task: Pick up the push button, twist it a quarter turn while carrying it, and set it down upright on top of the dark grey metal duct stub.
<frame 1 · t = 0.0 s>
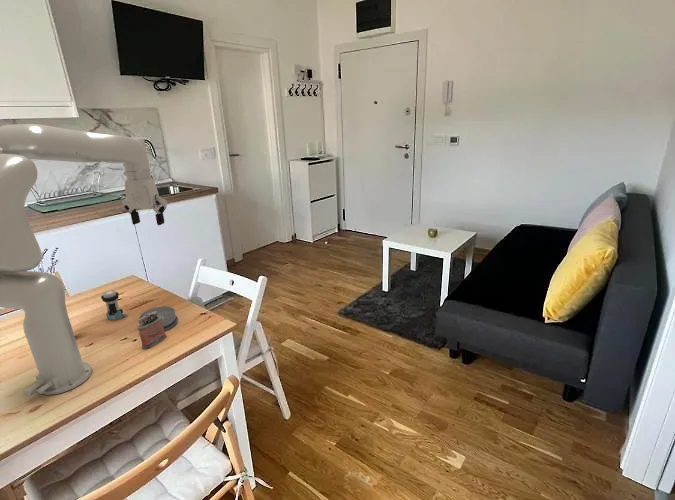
hand: (148, 223, 135), 31 cm above the table, tool pointing down, fingers open, 9 cm apart
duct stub: (159, 324, 131), on the table
lighter: (154, 342, 121), on the table
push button: (117, 318, 136), on the table
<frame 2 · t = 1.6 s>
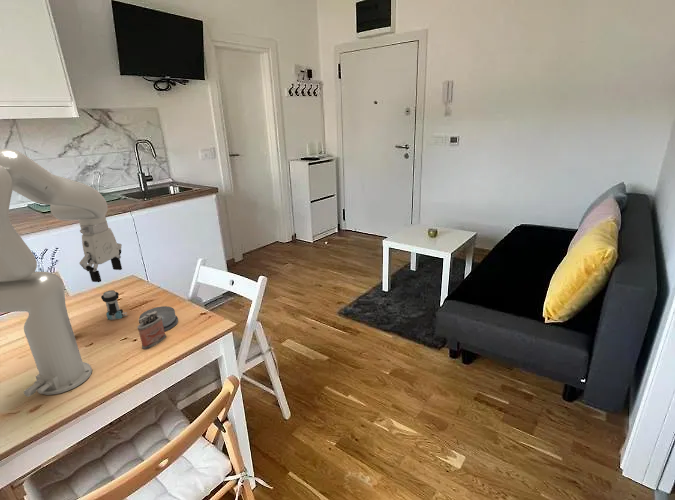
hand: (107, 275, 131), 16 cm above the table, tool pointing down, fingers open, 9 cm apart
nothing on the table moved.
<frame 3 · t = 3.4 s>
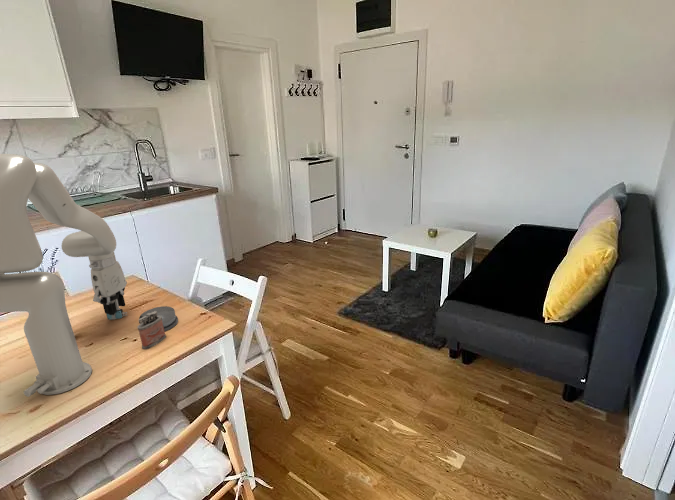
hand: (115, 309, 135), 3 cm above the table, tool pointing down, fingers closed on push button, 4 cm apart
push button: (117, 318, 136), on the table, touching gripper
everything else where it was.
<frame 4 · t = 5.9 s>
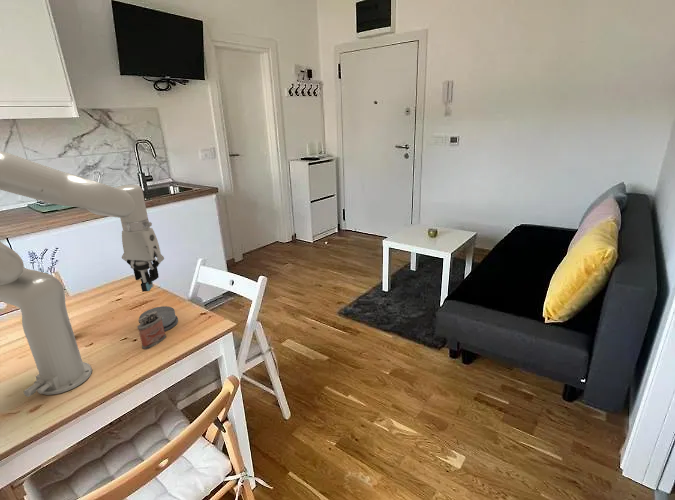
hand: (147, 278, 125), 17 cm above the table, tool pointing down, fingers closed on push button, 4 cm apart
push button: (149, 288, 126), point 14 cm above the table, touching gripper
everything else where it was.
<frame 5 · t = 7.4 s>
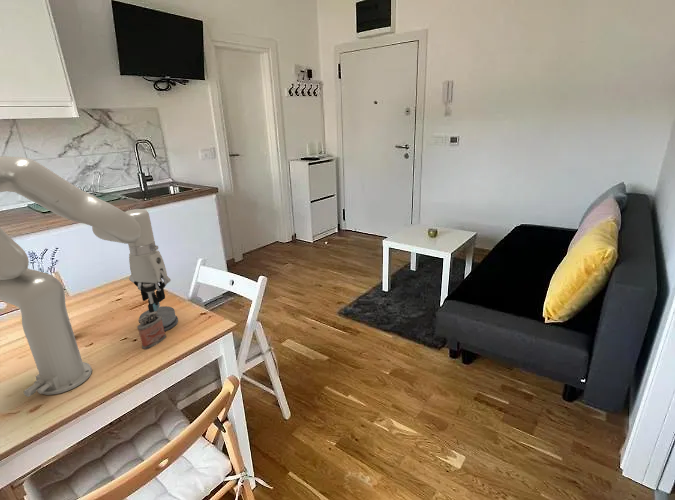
hand: (154, 299, 127), 10 cm above the table, tool pointing down, fingers closed on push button, 4 cm apart
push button: (156, 308, 129), point 6 cm above the table, touching gripper
everything else where it was.
when the fingers open (9 cm above the table, at t = 8.4 s): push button drops 1 cm, resting on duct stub.
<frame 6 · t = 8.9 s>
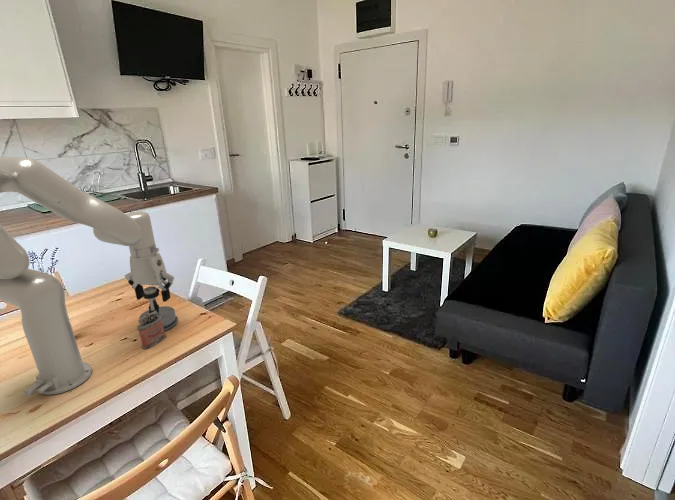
hand: (153, 298, 127), 10 cm above the table, tool pointing down, fingers open, 9 cm apart
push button: (156, 315, 129), point 4 cm above the table, touching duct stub
everything else where it was.
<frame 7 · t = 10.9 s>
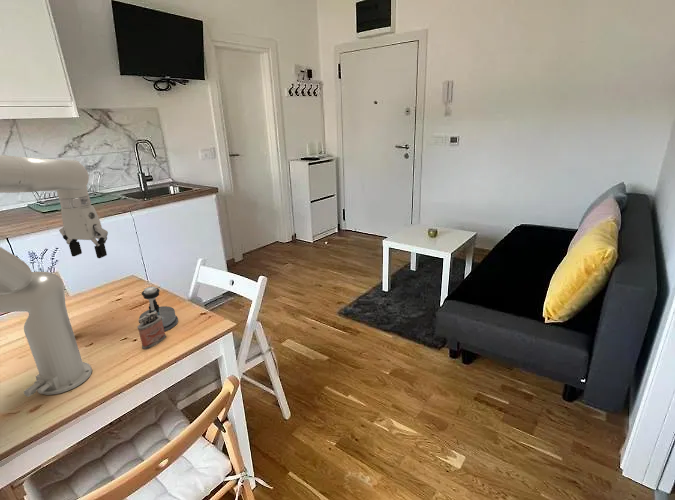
hand: (89, 255, 121), 26 cm above the table, tool pointing down, fingers open, 9 cm apart
nothing on the table moved.
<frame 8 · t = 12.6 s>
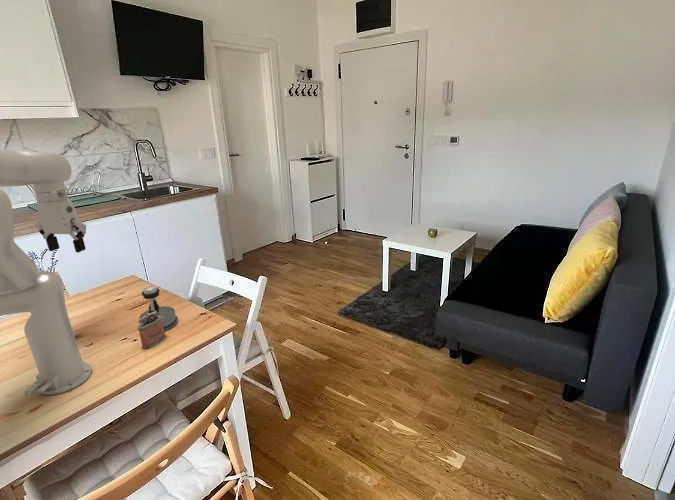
hand: (67, 250, 120), 28 cm above the table, tool pointing down, fingers open, 9 cm apart
nothing on the table moved.
at the end: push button 0.4 cm off-centre on the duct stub, point 3.8 cm above the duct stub's base; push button tilted 0°; the gripper is holding nothing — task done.
